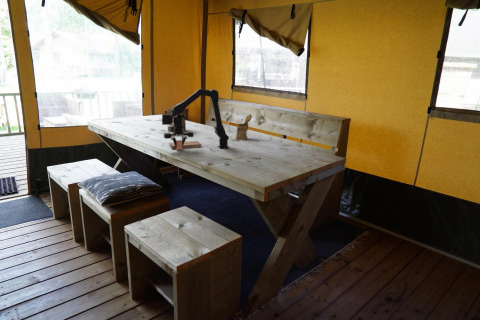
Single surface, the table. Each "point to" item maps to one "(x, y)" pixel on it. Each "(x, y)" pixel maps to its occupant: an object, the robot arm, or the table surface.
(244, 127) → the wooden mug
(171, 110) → the wooden container
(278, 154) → the table surface
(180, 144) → the pink and yellow hammer
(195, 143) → the board
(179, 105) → the robot arm
